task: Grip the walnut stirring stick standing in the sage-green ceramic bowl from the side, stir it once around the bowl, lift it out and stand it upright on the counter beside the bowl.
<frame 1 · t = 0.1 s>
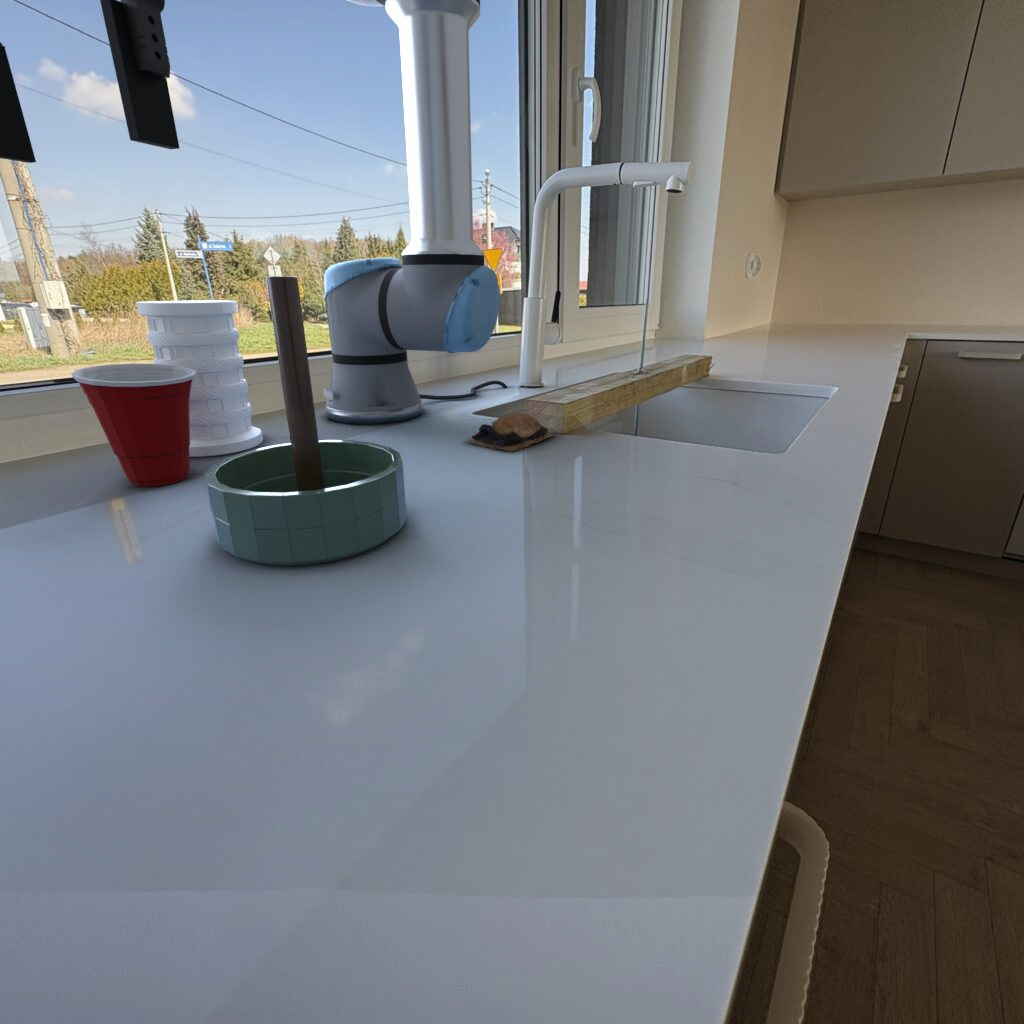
hand: (79, 153, 36), 28 cm above the worktop, tool pointing down, fingers open, 13 cm apart
bowl: (316, 528, 50), on the worktop
bread roll: (512, 440, 79), on the worktop
plastic cup: (162, 480, 63), on the worktop
decorative container: (216, 446, 76), on the worktop
stirring stick: (316, 522, 50), point 1 cm above the worktop, touching bowl
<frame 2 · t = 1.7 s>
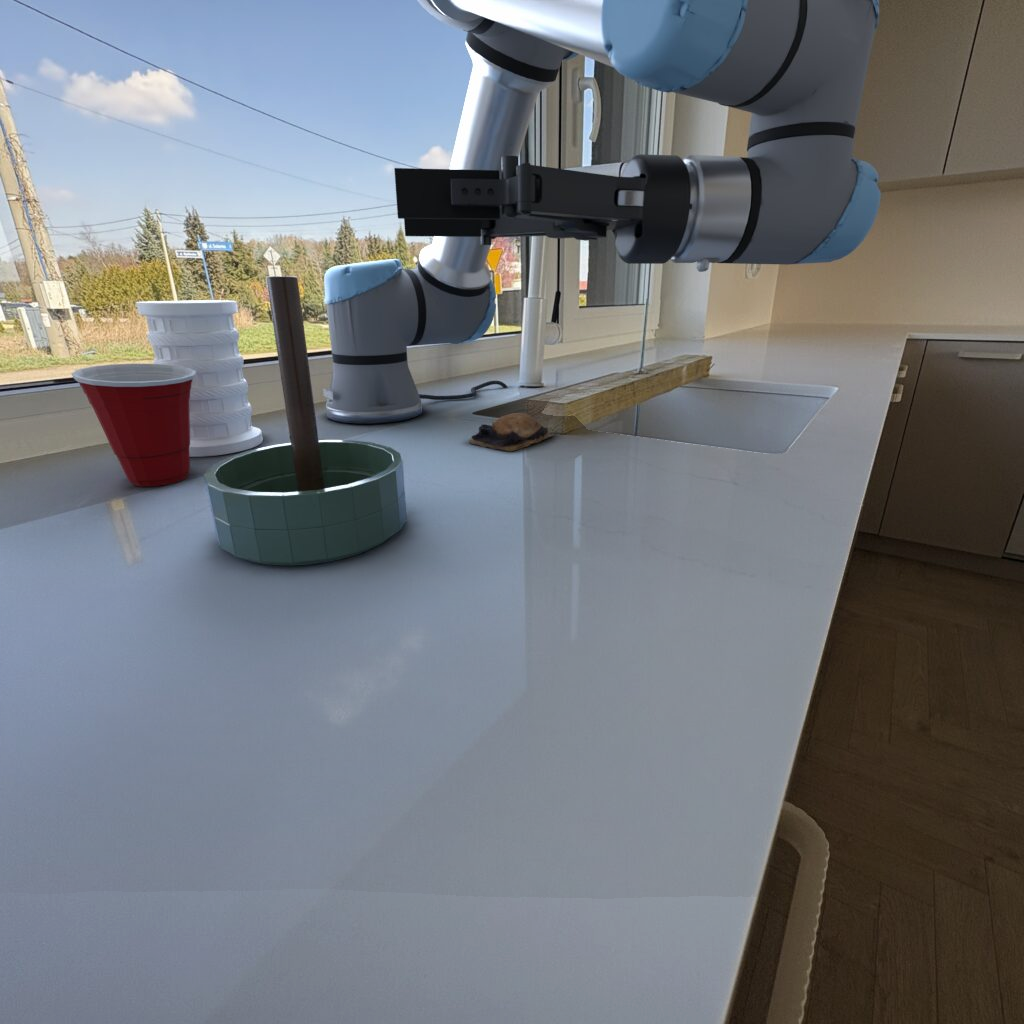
hand: (400, 207, 42), 25 cm above the worktop, tool horizontal, fingers open, 13 cm apart
nothing on the worktop moved.
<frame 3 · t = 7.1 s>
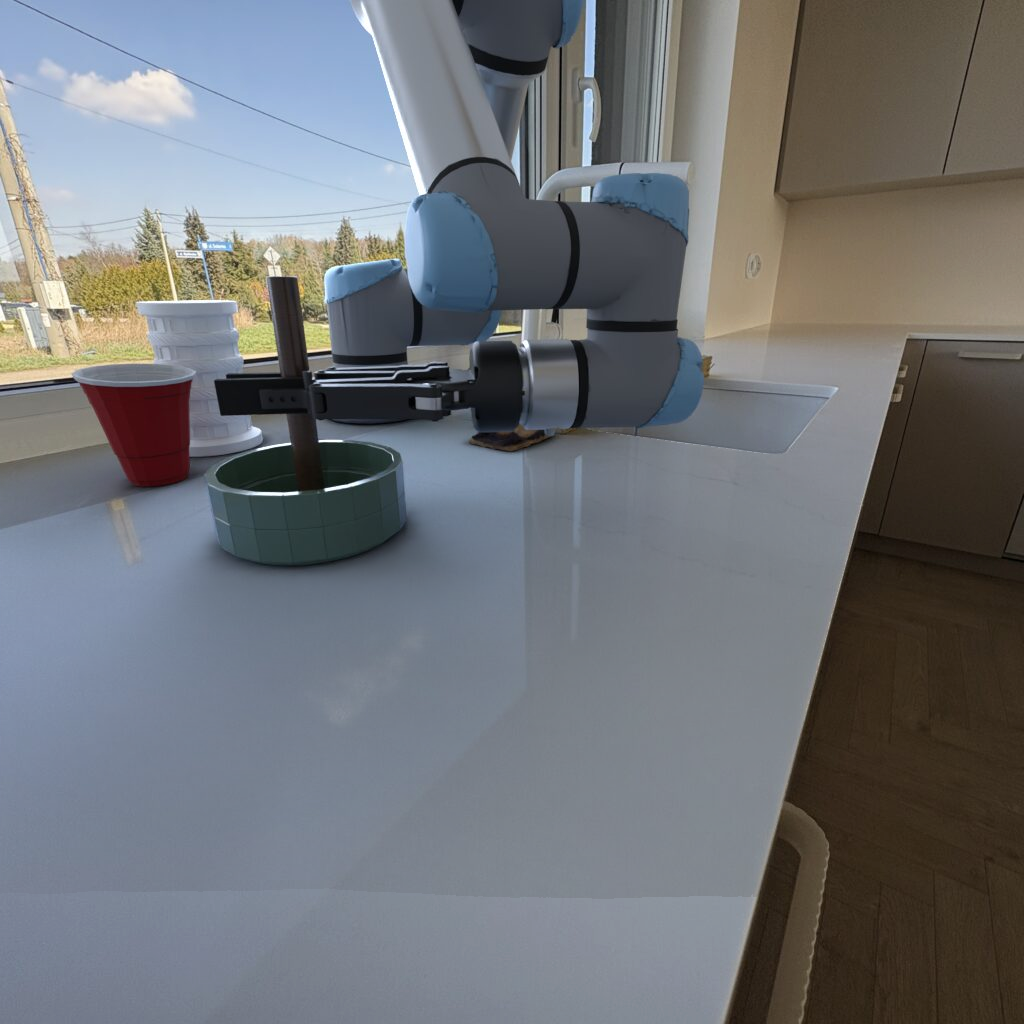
hand: (225, 394, 45), 12 cm above the worktop, tool horizontal, fingers closed on stirring stick, 2 cm apart
stirring stick: (316, 522, 50), point 1 cm above the worktop, touching bowl, gripper
everything else where it was.
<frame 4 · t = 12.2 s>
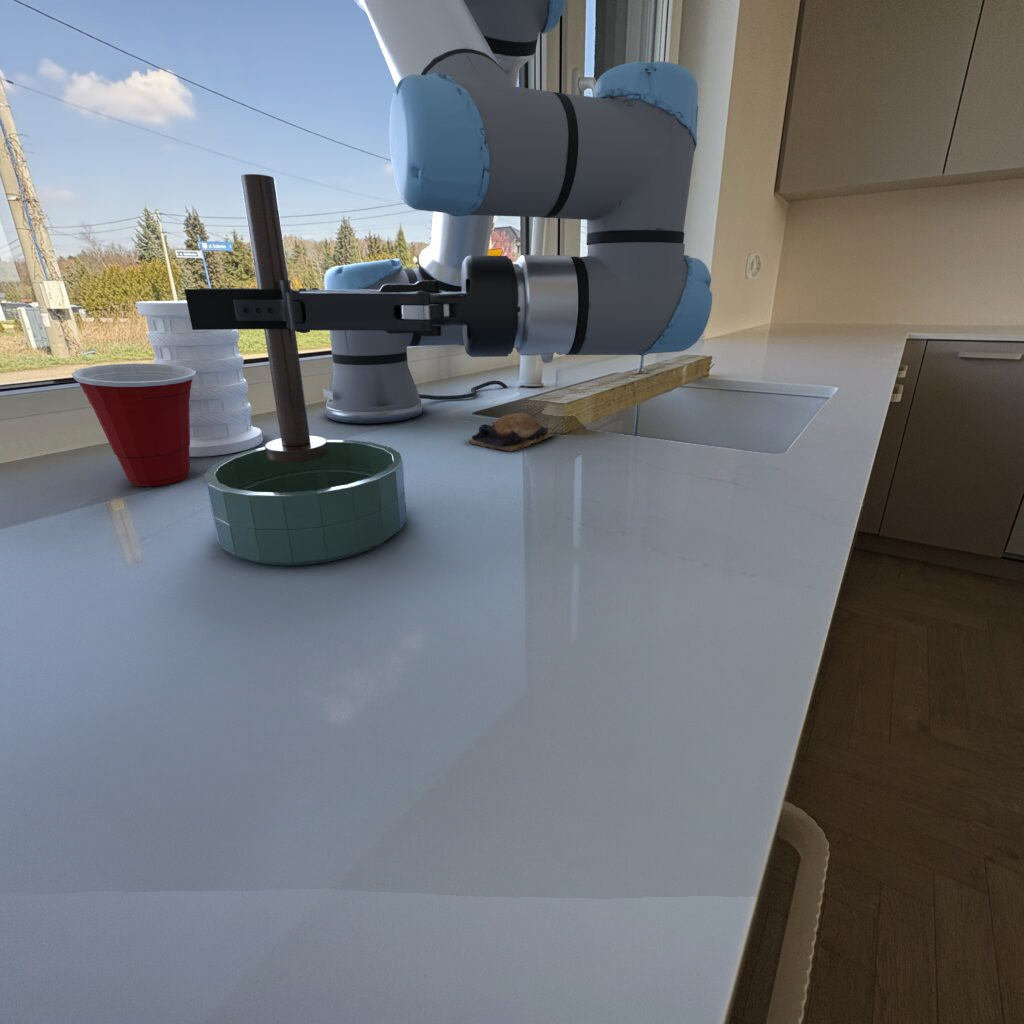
hand: (198, 308, 42), 18 cm above the worktop, tool horizontal, fingers closed on stirring stick, 2 cm apart
stirring stick: (298, 454, 47), point 7 cm above the worktop, touching gripper
everything else where it was.
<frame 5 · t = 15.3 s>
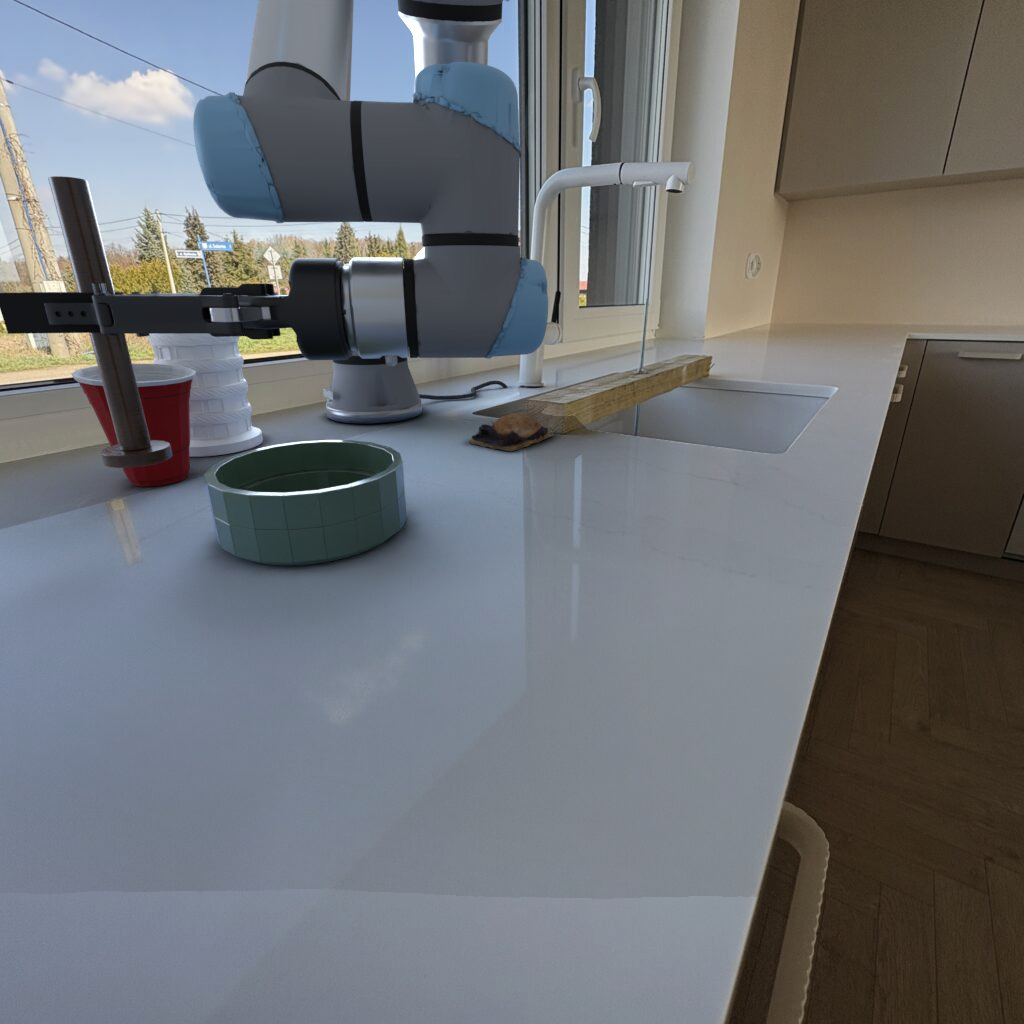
hand: (19, 312, 41), 18 cm above the worktop, tool horizontal, fingers closed on stirring stick, 2 cm apart
stirring stick: (139, 459, 46), point 7 cm above the worktop, touching gripper
everything else where it was.
when the fingers open (11 cm above the worktop, at t = 17.3 s): stirring stick stays where it is, on the worktop.
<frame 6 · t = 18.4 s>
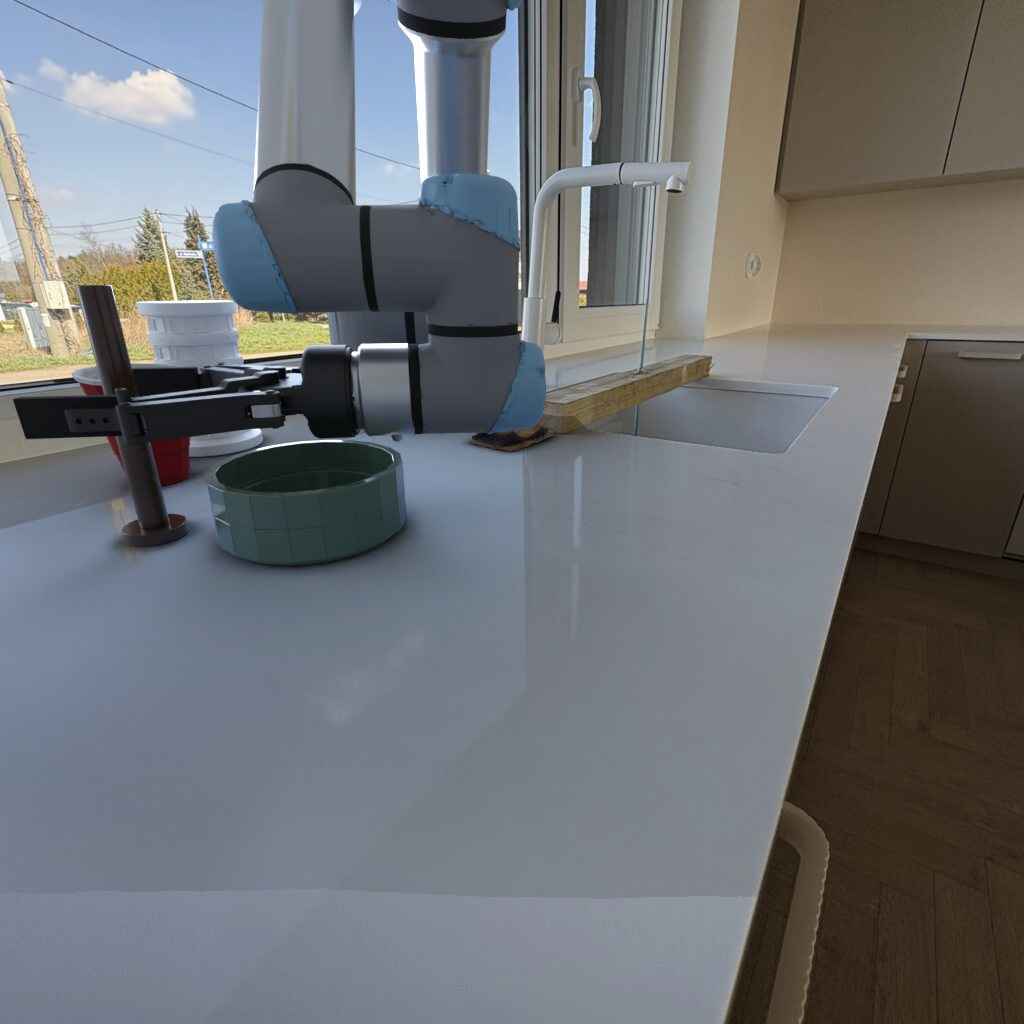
hand: (77, 398, 44), 12 cm above the worktop, tool horizontal, fingers open, 13 cm apart
stirring stick: (157, 534, 49), on the worktop
everything else where it was.
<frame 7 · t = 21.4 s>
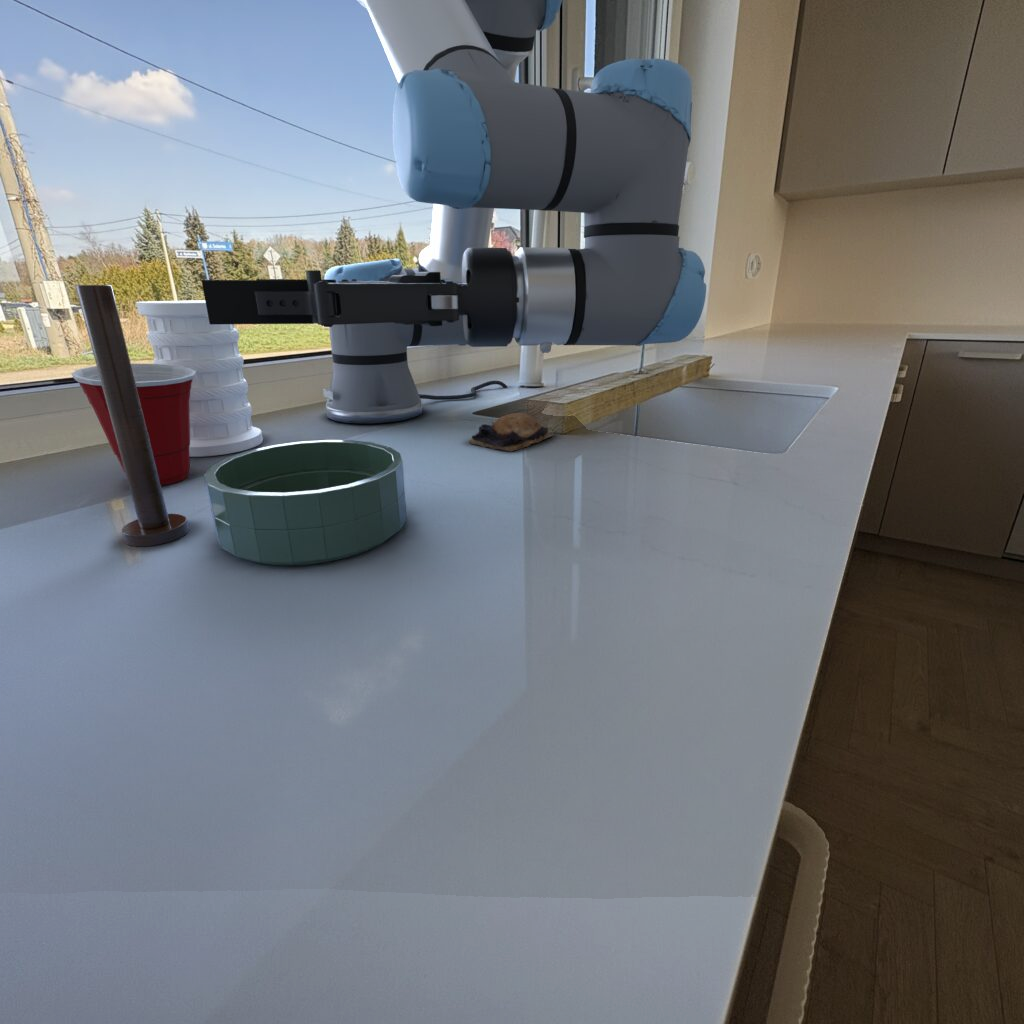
hand: (236, 298, 43), 19 cm above the worktop, tool horizontal, fingers open, 13 cm apart
nothing on the worktop moved.
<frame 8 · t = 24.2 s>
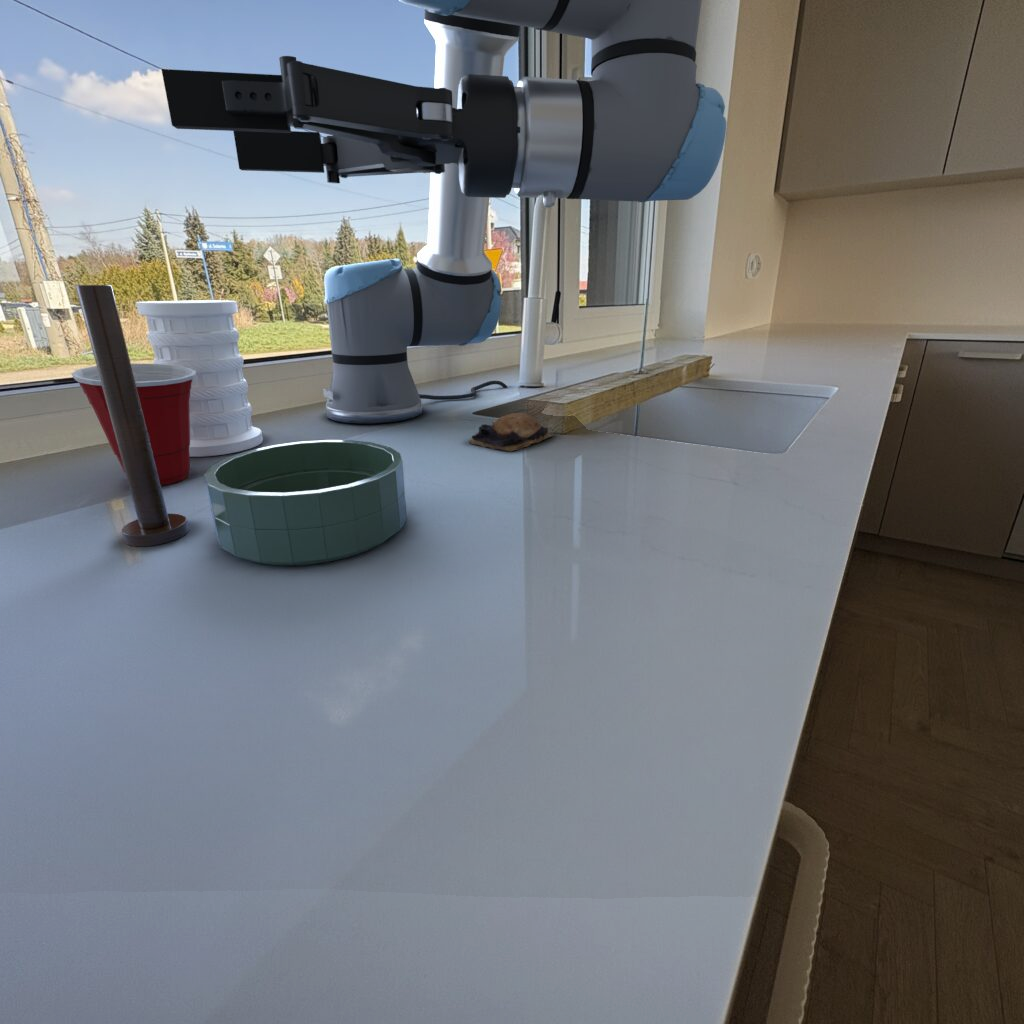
hand: (208, 128, 39), 30 cm above the worktop, tool horizontal, fingers open, 13 cm apart
nothing on the worktop moved.
at the end: stirring stick inside the target area (0.0 cm from its centre), on the worktop; stirring stick tilted 0°; the gripper is holding nothing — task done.
